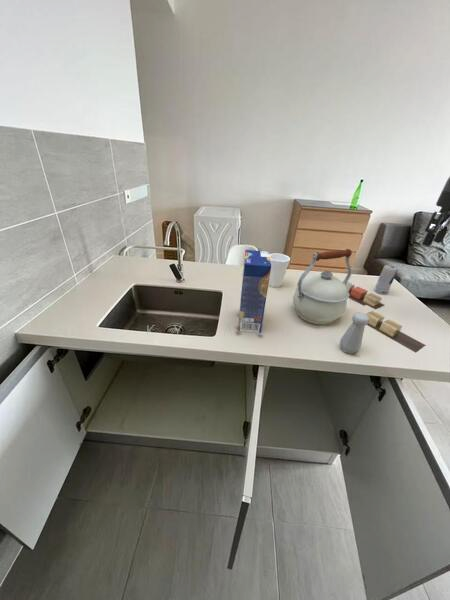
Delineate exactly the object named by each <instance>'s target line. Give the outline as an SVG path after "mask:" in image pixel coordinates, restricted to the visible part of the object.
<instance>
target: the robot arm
mask: <svg viewBox="0 0 450 600" xmlns="http://www.w3.org/2000/svg"><path fill="white" fill-rule="evenodd" d="M435 205H436V206H437V207H440V210H439V211H433V213H432V216H431V217H430V219H429V221H428V224H427V226H426V228H425V229H424V232H426V235H425V237H424V239H423V241H422V243H421V244H422V245H423V246H426V247H431V246H432V244H433V242H434V243H439V244H440V243H443V241H444V239H445V237H446V235H447V234H448V232H449V231H450V176H449V177H448V178H447V180H446V182H445V183H444V186H443V188H442V190H441V192H440V194H439V197H438V198H437V201H436V203H435Z"/></svg>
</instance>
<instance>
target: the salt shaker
mask: <svg viewBox="0 0 450 600" xmlns="http://www.w3.org/2000/svg"><path fill="white" fill-rule="evenodd" d="M351 321H352V323H351V324H350V325H349V327H348V328H347V329H346V331H345V332H344V333H343V335H342V336H341V337H340V340H339V344H340V349H341V350H342V352H344V353H347V354H350V355H352V354H355V353H356V352H357V351H359V350H360V349H361V347H362V343H363V337H364V333H365V327H366V326H368V325H367V324H368V323H369V317H368V316H367V315H366V313H364V312H359V311H358V312H354V313H353V314H352V317H351Z"/></svg>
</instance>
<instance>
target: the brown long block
mask: <svg viewBox="0 0 450 600" xmlns="http://www.w3.org/2000/svg"><path fill="white" fill-rule="evenodd" d="M347 283H351V282H350V281H348V282H347ZM347 283H346V285H347ZM352 284H353V286H352V287H351V288H350V290H349V291H348V292H349V298H348V299H350V300H352V301H354V302H356V303H358V304H360V305H362V306H363V307H364V306H367V307H370V308H372V309H374V311H375V310H378V309H381V308H383V307H385V306H386V305H385V304H384V303H382V302H381V301H382V299H383V297H382V296H380V295H378V294H375V293H373V292H370V293H367V294H366V295H365V297H364V298H362V299H360V300H359V299H357V298H355V297H353V296H351V295H350V292H351V290H352V289H353V288H355V287H356V285H355V284H354V283H352ZM346 285H345V286H346Z"/></svg>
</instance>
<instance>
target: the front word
mask: <svg viewBox="0 0 450 600" xmlns="http://www.w3.org/2000/svg"><path fill="white" fill-rule="evenodd" d="M365 314H366V315H367V316H368V317H369V323H368V324H367V325H366V326H368V327H369V328H371V329H373V330H375V331H376V332H378V333H380V334H382V335H383V336H385V337H387V338H389V339H390V340H392V341H394V342H396V343H397V344H399V345H401V346H403V347H404V348H406V349H408V350H410V351H412V352H414V353H417V352H419V351H420V350H421V349H423V348H424V347H426V346H427V345H426V344H424V343H423V342H421V341H419V340H417V339H415V338H414V337H412V336H410V335H408V334H406V333H405V332H402V331H401V330H402V328H403V325H402V324H400V323H398V322H396V321H394V320H393V319H390V318H388V319H387V320H385V316H384V315H383V314H382V313H381V314H380V313H379V312H378V311H377V312H376V311H375V310H370V311H368V312H367V313H365Z"/></svg>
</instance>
